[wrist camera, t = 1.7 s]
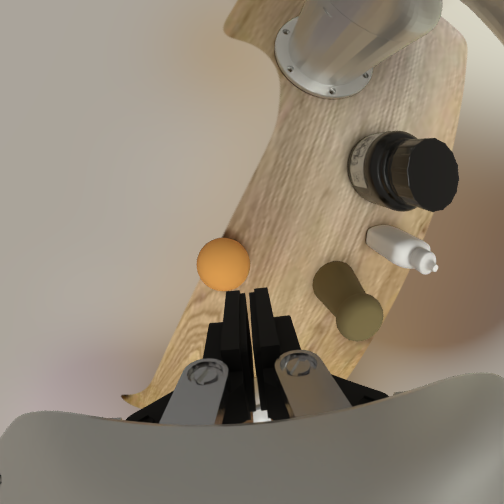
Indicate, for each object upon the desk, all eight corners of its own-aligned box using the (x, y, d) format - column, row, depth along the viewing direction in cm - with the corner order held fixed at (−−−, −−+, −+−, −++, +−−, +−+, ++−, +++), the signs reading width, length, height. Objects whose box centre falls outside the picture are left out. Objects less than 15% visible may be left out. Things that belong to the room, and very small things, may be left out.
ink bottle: (374, 119, 29) (430, 104, 18) (416, 166, 31) (477, 173, 19) (330, 173, 31) (376, 179, 20) (377, 219, 33) (431, 245, 22)
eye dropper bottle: (387, 259, 35) (437, 297, 23) (359, 240, 34) (408, 274, 22) (404, 233, 34) (458, 262, 22) (377, 212, 33) (431, 235, 21)
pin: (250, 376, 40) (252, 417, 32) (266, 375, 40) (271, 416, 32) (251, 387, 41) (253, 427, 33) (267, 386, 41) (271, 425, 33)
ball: (197, 234, 33) (188, 248, 27) (247, 230, 33) (248, 244, 27) (203, 280, 35) (197, 302, 29) (250, 276, 35) (252, 298, 29)
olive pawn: (321, 309, 37) (346, 359, 26) (305, 274, 35) (330, 318, 24) (359, 290, 36) (395, 332, 26) (346, 253, 34) (385, 288, 24)
